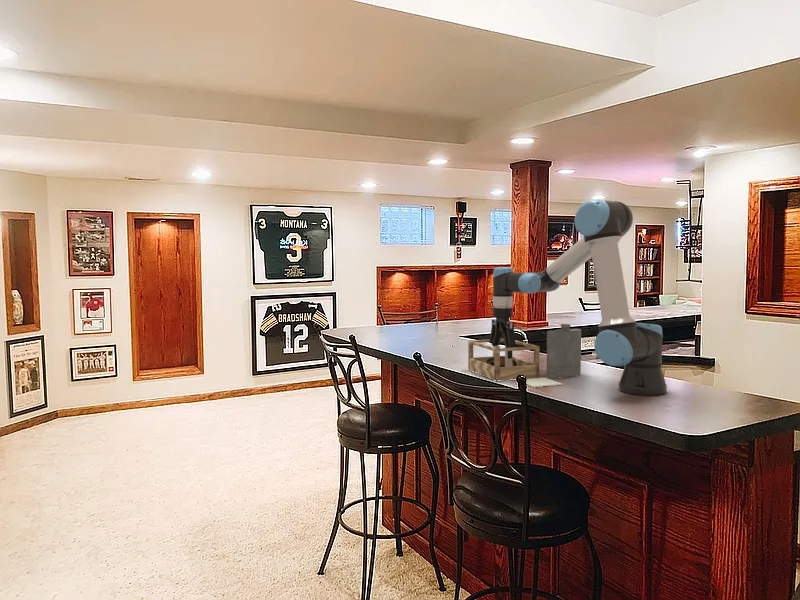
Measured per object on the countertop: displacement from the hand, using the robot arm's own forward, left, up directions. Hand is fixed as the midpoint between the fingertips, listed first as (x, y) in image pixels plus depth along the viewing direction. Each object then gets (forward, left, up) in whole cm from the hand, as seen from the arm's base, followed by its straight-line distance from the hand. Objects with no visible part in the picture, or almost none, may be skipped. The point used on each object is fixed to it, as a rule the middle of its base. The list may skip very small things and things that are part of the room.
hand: (502, 364), depth 239 cm
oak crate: (0, 0, -4) cm, 4 cm away
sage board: (-20, -4, -4) cm, 21 cm away
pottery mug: (-1, +1, -4) cm, 4 cm away
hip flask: (-12, -20, -4) cm, 24 cm away
